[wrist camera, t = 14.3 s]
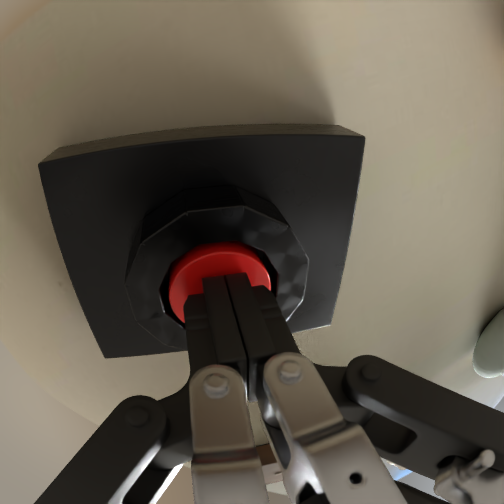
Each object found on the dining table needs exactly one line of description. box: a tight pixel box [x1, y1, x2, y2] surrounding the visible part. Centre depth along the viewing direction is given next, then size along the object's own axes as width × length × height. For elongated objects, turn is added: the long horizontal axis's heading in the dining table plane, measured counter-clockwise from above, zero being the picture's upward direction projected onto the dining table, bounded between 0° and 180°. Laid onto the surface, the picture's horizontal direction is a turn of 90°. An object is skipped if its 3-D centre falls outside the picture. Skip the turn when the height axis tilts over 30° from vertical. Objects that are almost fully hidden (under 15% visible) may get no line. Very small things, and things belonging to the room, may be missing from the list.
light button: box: [168, 241, 271, 323], centre depth 12 cm, size 4×4×2 cm
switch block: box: [38, 124, 365, 358], centre depth 13 cm, size 12×10×4 cm
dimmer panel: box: [256, 444, 283, 484], centre depth 32 cm, size 13×10×3 cm
